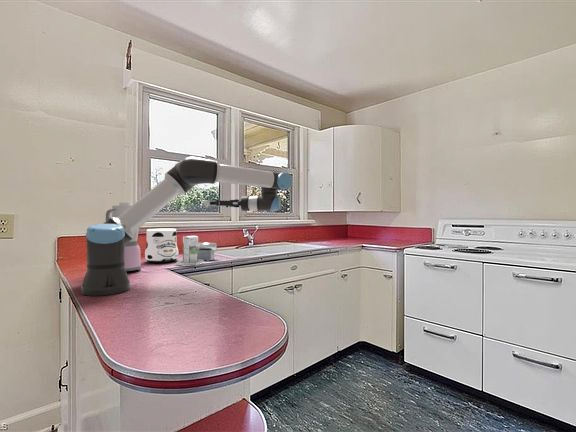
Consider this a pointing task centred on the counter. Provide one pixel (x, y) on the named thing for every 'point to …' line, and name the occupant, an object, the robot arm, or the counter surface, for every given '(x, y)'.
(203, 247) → the pillow block with shaft stub
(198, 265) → the steel flange
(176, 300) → the counter surface
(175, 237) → the milk container
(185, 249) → the syrup box
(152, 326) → the counter surface
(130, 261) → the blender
